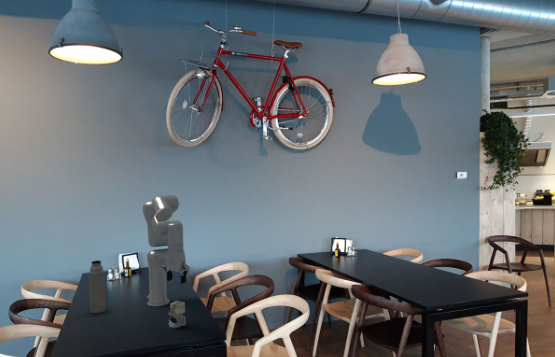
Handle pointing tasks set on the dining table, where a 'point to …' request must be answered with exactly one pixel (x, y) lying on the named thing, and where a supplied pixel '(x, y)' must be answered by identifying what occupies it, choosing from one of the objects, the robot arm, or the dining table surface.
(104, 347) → the dining table surface
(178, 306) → the birch cube
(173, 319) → the mug
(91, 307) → the thermos bottle
